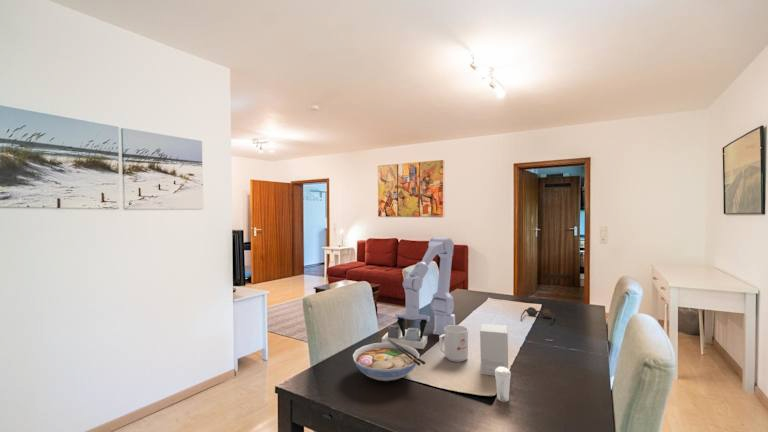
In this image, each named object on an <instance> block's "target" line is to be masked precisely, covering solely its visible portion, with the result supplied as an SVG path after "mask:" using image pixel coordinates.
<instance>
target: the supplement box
mask: <svg viewBox="0 0 768 432" xmlns="http://www.w3.org/2000/svg"><path fill="white" fill-rule="evenodd" d="M507 327H508V326H507V325H504V324H503V325H502V324H493V323H492V324H489V323H481V326H480V330H479V338H480V342H479V344H480V375H485V376H494V377H495V371H494V370H495V369H496V368H497V367H499V366H501V367H505V368H507V369H509V339H508V338H509V337H508V335H509V334H508V328H507ZM493 367H494V369H493Z"/></svg>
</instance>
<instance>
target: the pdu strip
mask: <svg viewBox="0 0 768 432" xmlns="http://www.w3.org/2000/svg"><path fill="white" fill-rule="evenodd" d="M387 339H388V340H389V339H390V340H391V342H392V341H393V342H394V343H399V344H403V345H408V346H410V347H412V348H414V349H421V350H425V347H426V345H427V343H428V335H423V337H422V338H420V335H419V342H417V341H408V340H406V334H405V336H404V337H403V336H402V334H401V329H400V326H399V324H390V325H389V326H388V327H387V332H386V333H385V334H384V335H383V336H382V337H381V343H384V342H387V343H391V342H390V340H389V341H388V340H387ZM393 342H392V343H393Z"/></svg>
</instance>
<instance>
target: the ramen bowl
mask: <svg viewBox="0 0 768 432" xmlns="http://www.w3.org/2000/svg"><path fill="white" fill-rule="evenodd" d="M387 340H388V339H387ZM389 340H390V339H389ZM389 340H388V341H389ZM390 342H391V340H390ZM392 342H393V341H392ZM392 342H391V343H387V342H384V343H382V342H375V343H370V344H366V345H363V346H361V347H359V348H356V349H355V351H353V354H352V358H353V362H354V364H355V365H356V367H357V368H358V370H359V371H360V372H361V373H362V374H363V375H365V376H367V378H368V377H369V378H370V379H373V380H377V381H382V382H389V381H396V380H399V379H401V378H403V377H405V376H407V375H408V374H410V373H411V372H412V371H413V370H414V368H415V367H416V365H417V366H421V364H422V365H424V366H425V365H426V362H425V361H424V360H423V359H421V358H420V354H421V353H419V352H418V349H417V348H412V347H410V346H408V345H403V344H399V343H394V342H393V343H392Z"/></svg>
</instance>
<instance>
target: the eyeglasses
mask: <svg viewBox="0 0 768 432" xmlns="http://www.w3.org/2000/svg"><path fill="white" fill-rule="evenodd" d="M525 312H526V313H527V315H528V316H532V317H533V316H534V317H536V316H538V313H540V315H542V318H548V319H551V320H550V323H549V325H548V326H549V327H550V326H551V325H552V323H553V319H554V317H555V316H556V315H555V312H552V310H550V309H547V308H546V309H543V310H542V311H541V310H537V309H536V308H535V307H533V306H532V307H531V306H529V307H528V308H527V309H524V311H523V312H522V313H521V314H520V315H521V316H520V321H521V322H523V320H522V318H523V315H524V314H525Z"/></svg>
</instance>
